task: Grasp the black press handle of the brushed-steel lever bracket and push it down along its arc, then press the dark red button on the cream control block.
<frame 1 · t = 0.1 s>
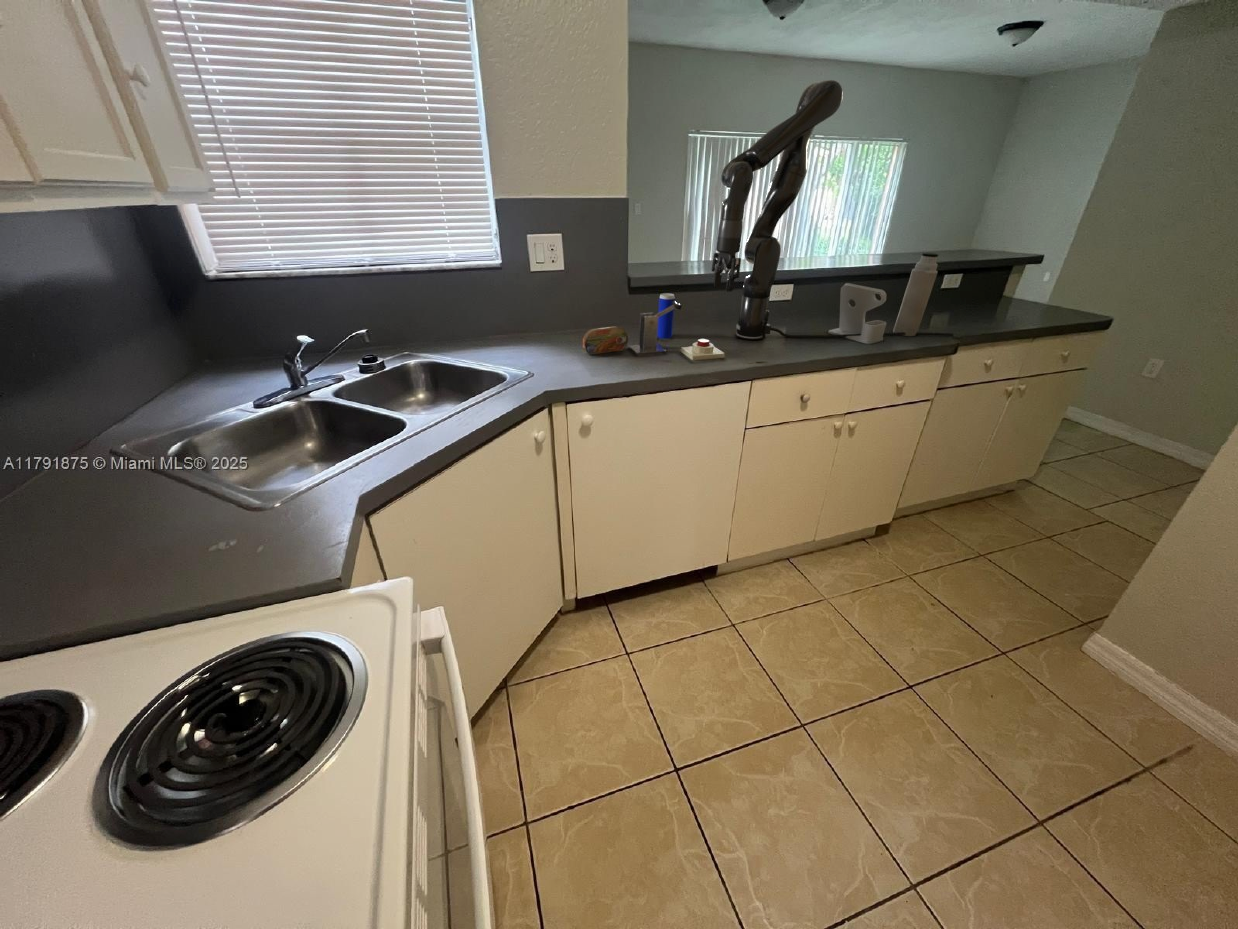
hand: (722, 288, 162), 17 cm above the worktop, tool pointing down, fingers open, 8 cm apart
tin: (605, 354, 155), on the worktop
phone holder: (855, 336, 178), on the worktop
thermos bottle: (904, 333, 183), on the worktop
start button: (703, 343, 152), point 4 cm above the worktop, slide at 0.1 cm
beverage can: (664, 339, 171), on the worktop
press bracket: (647, 351, 158), on the worktop
press lever: (661, 313, 153), point 12 cm above the worktop, hinge at 25.0°
button block: (701, 357, 154), on the worktop
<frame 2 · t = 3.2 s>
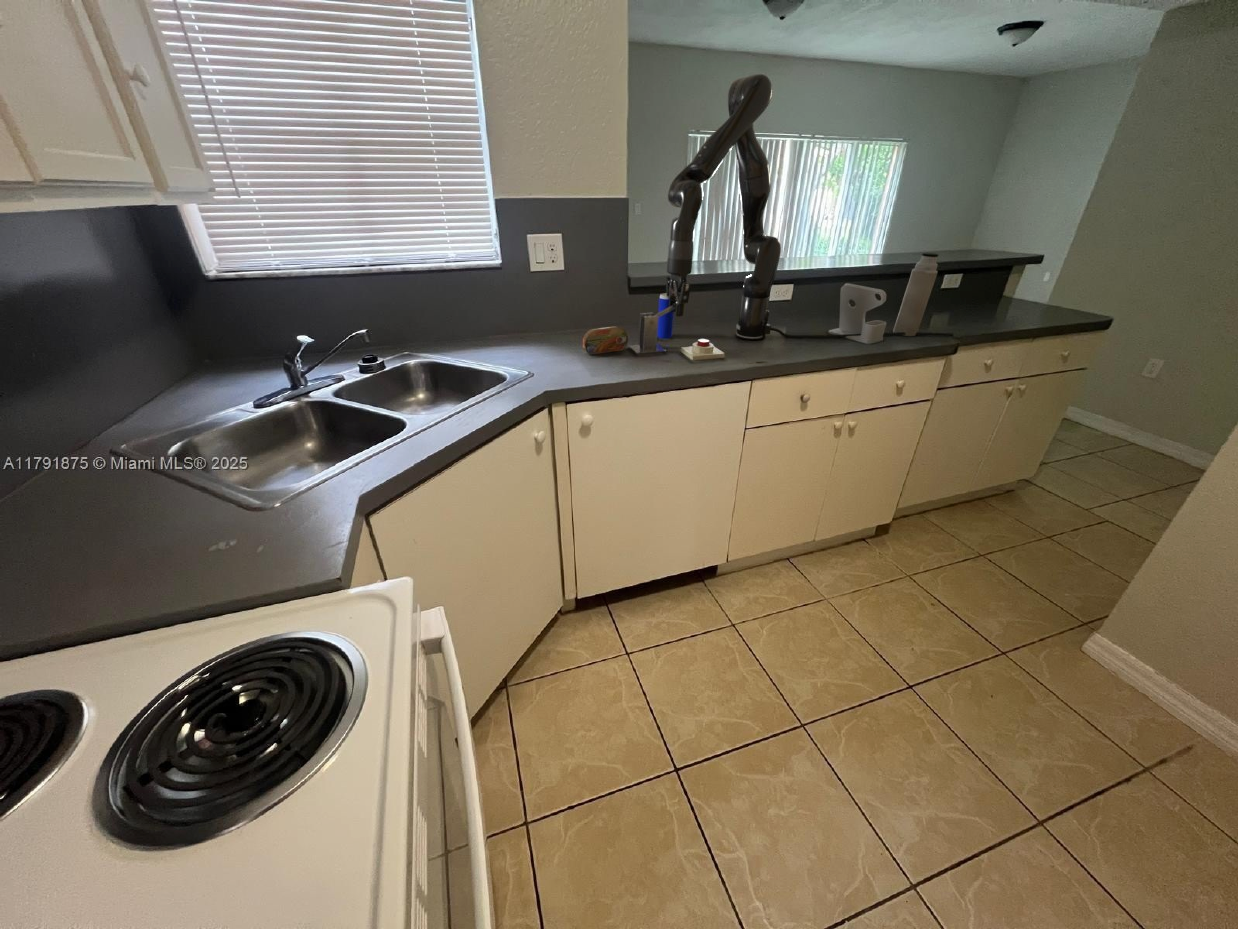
hand: (675, 313, 154), 12 cm above the worktop, tool pointing down, fingers closed on press lever, 5 cm apart
press lever: (661, 313, 153), point 12 cm above the worktop, hinge at 24.9°, touching gripper
everything else where it was.
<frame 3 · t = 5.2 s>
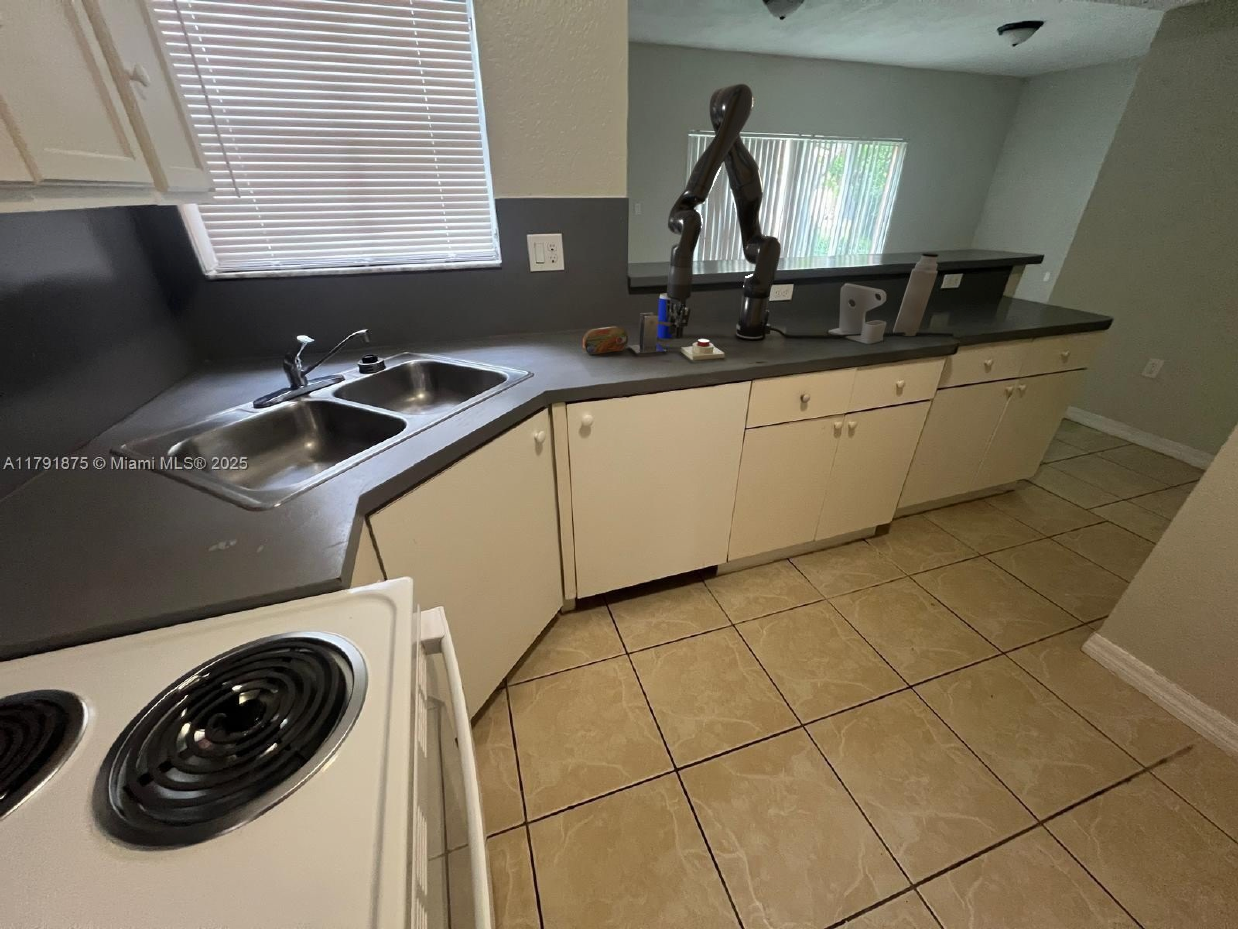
hand: (675, 335, 158), 5 cm above the worktop, tool pointing down, fingers closed on press lever, 5 cm apart
press lever: (662, 322, 154), point 9 cm above the worktop, hinge at -12.4°, touching gripper
everything else where it was.
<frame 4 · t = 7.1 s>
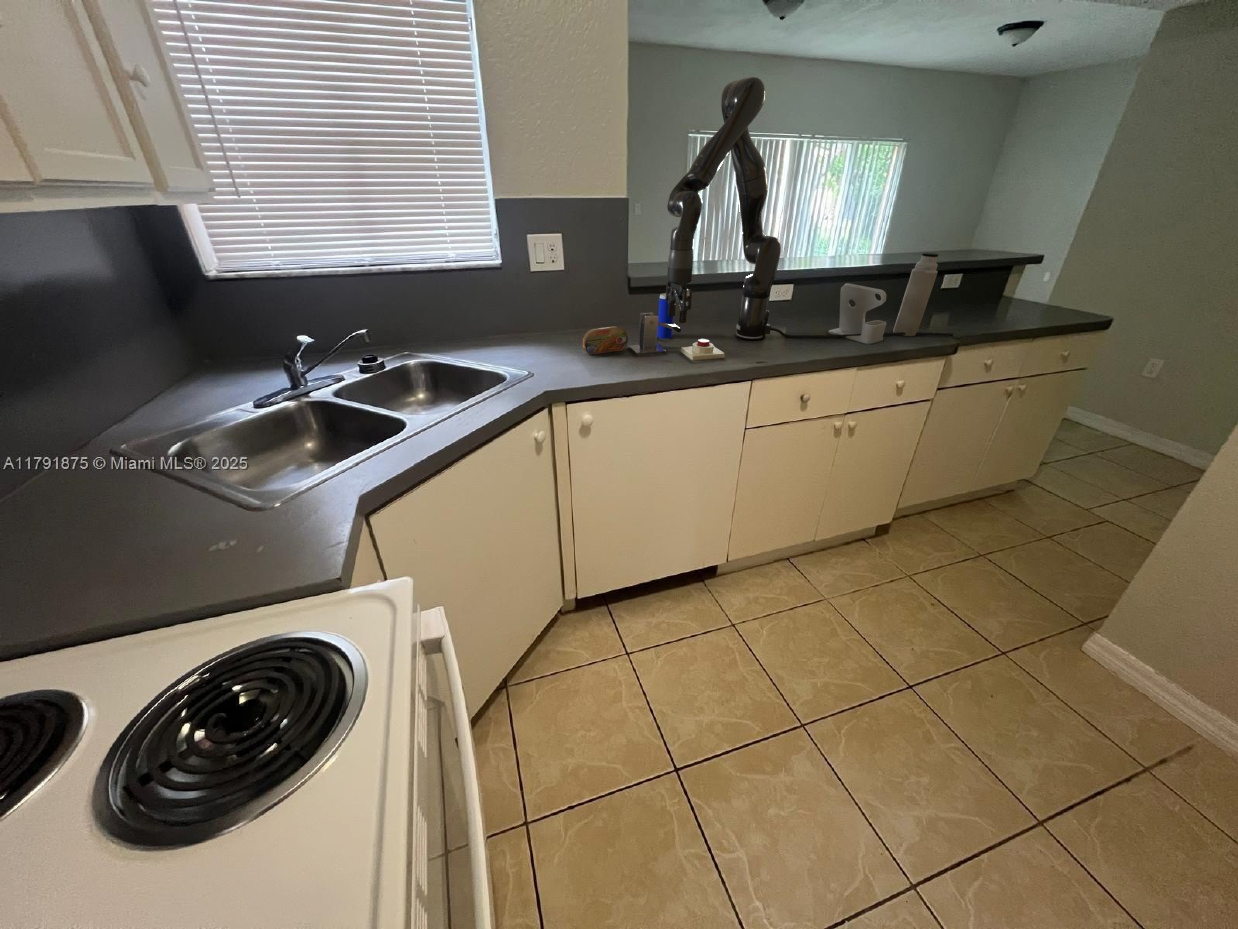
hand: (676, 319, 155), 10 cm above the worktop, tool pointing down, fingers open, 8 cm apart
press lever: (661, 324, 154), point 9 cm above the worktop, hinge at -17.3°
everything else where it was.
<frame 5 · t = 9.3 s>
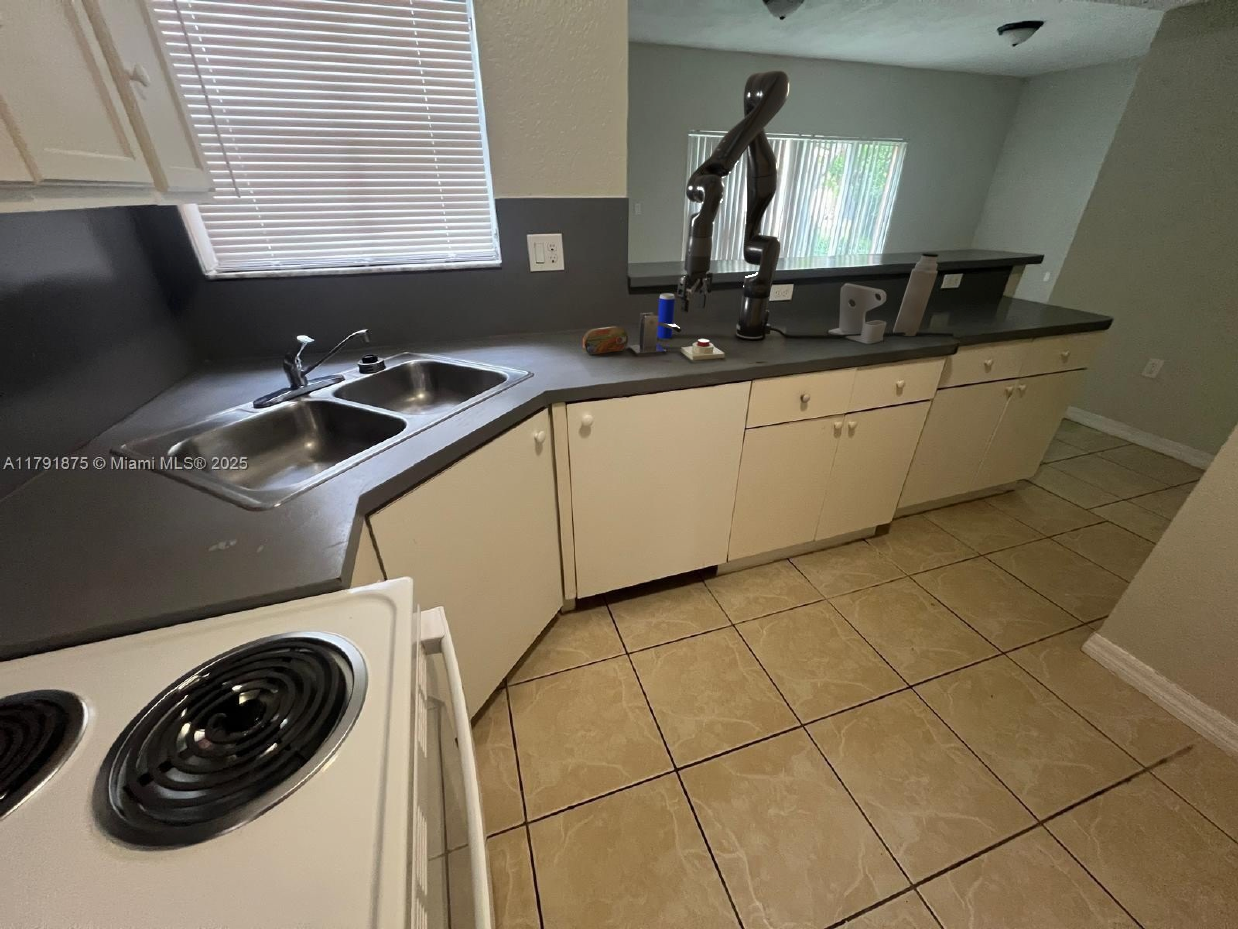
hand: (692, 310, 150), 14 cm above the worktop, tool pointing down, fingers open, 8 cm apart
nothing on the worktop moved.
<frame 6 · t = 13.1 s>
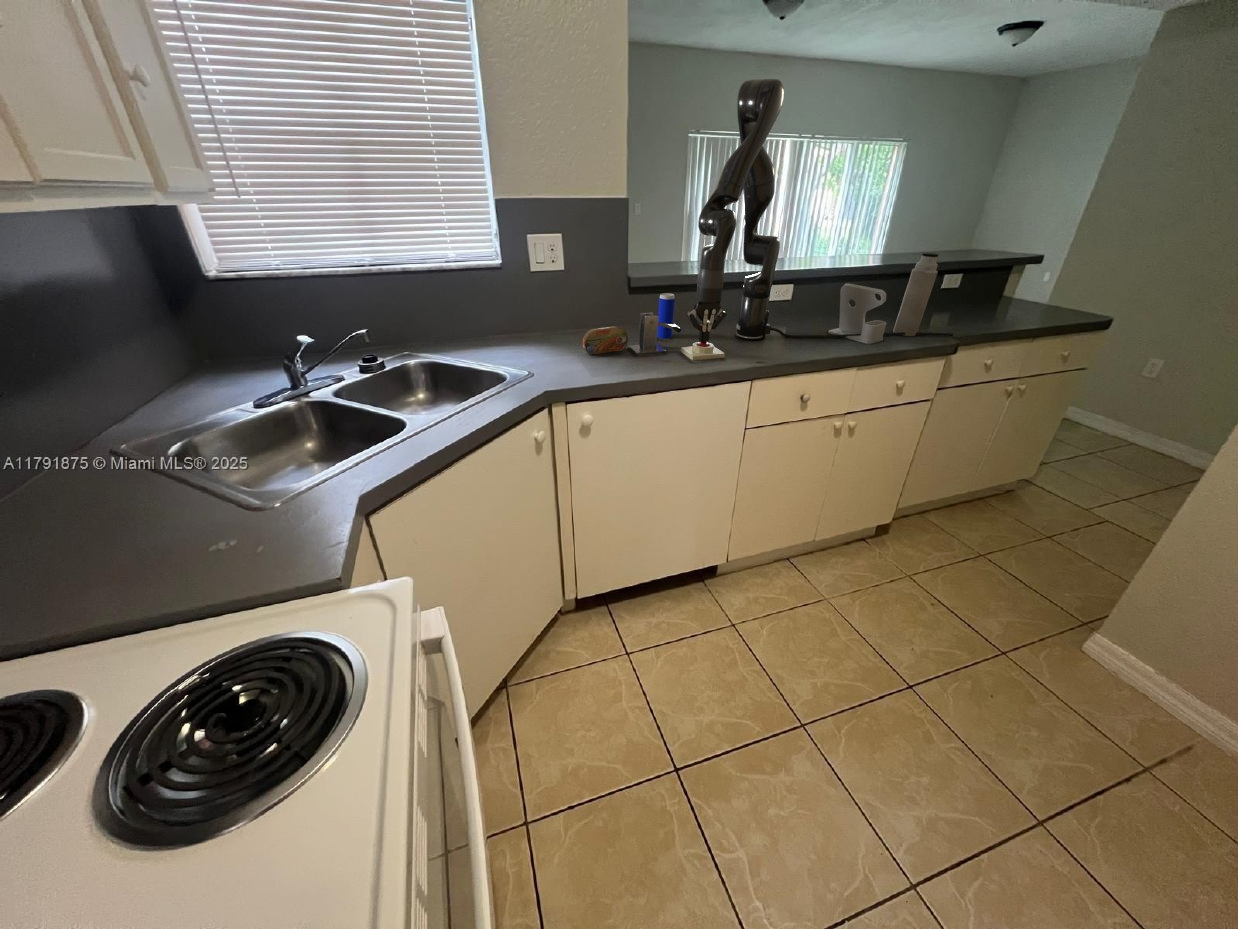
hand: (703, 342, 152), 5 cm above the worktop, tool pointing down, fingers closed
start button: (703, 345, 152), point 4 cm above the worktop, slide at -0.6 cm, touching gripper
everything else where it was.
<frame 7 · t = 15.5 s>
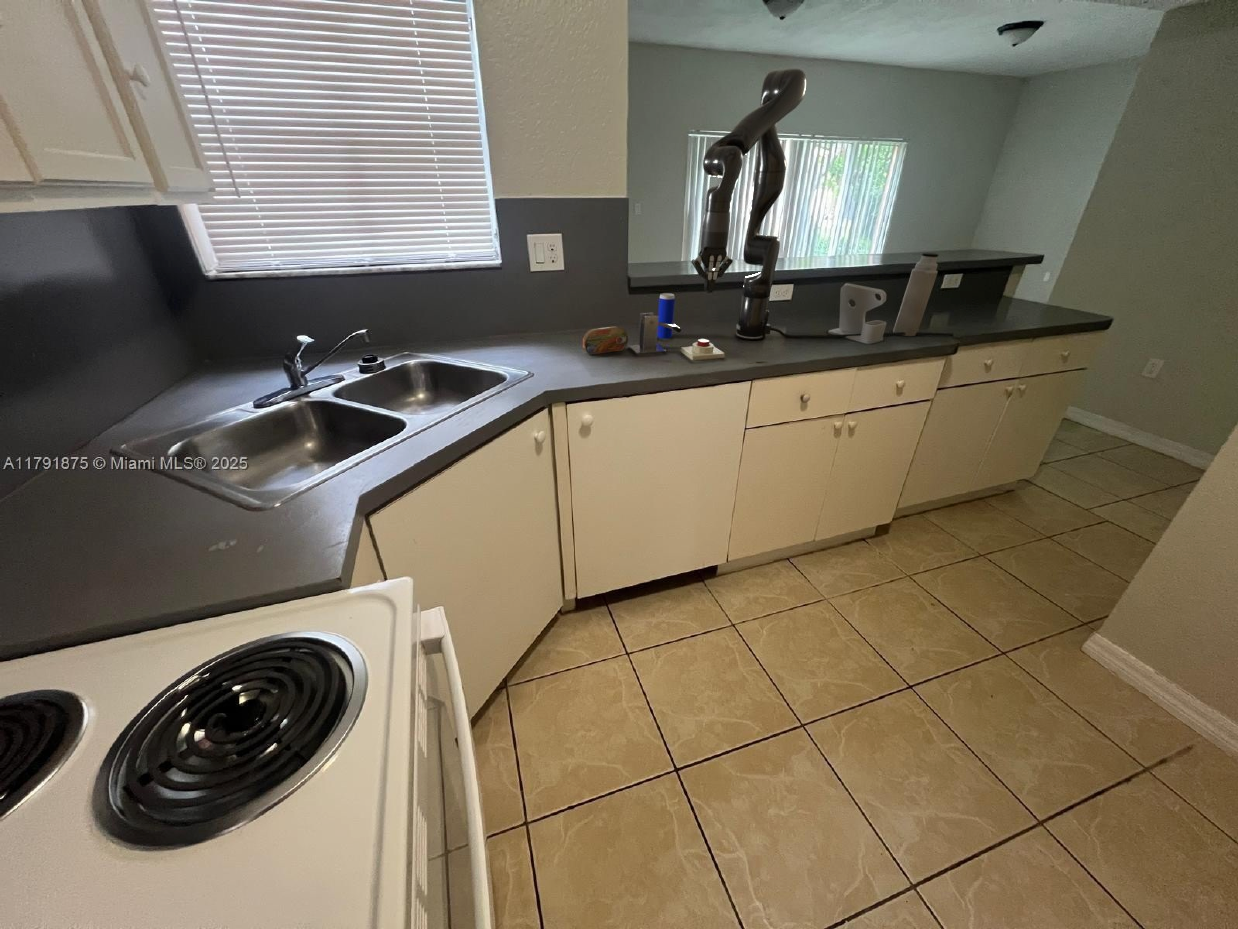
hand: (708, 292, 147), 19 cm above the worktop, tool pointing down, fingers closed
start button: (703, 343, 152), point 4 cm above the worktop, slide at 0.1 cm
everything else where it was.
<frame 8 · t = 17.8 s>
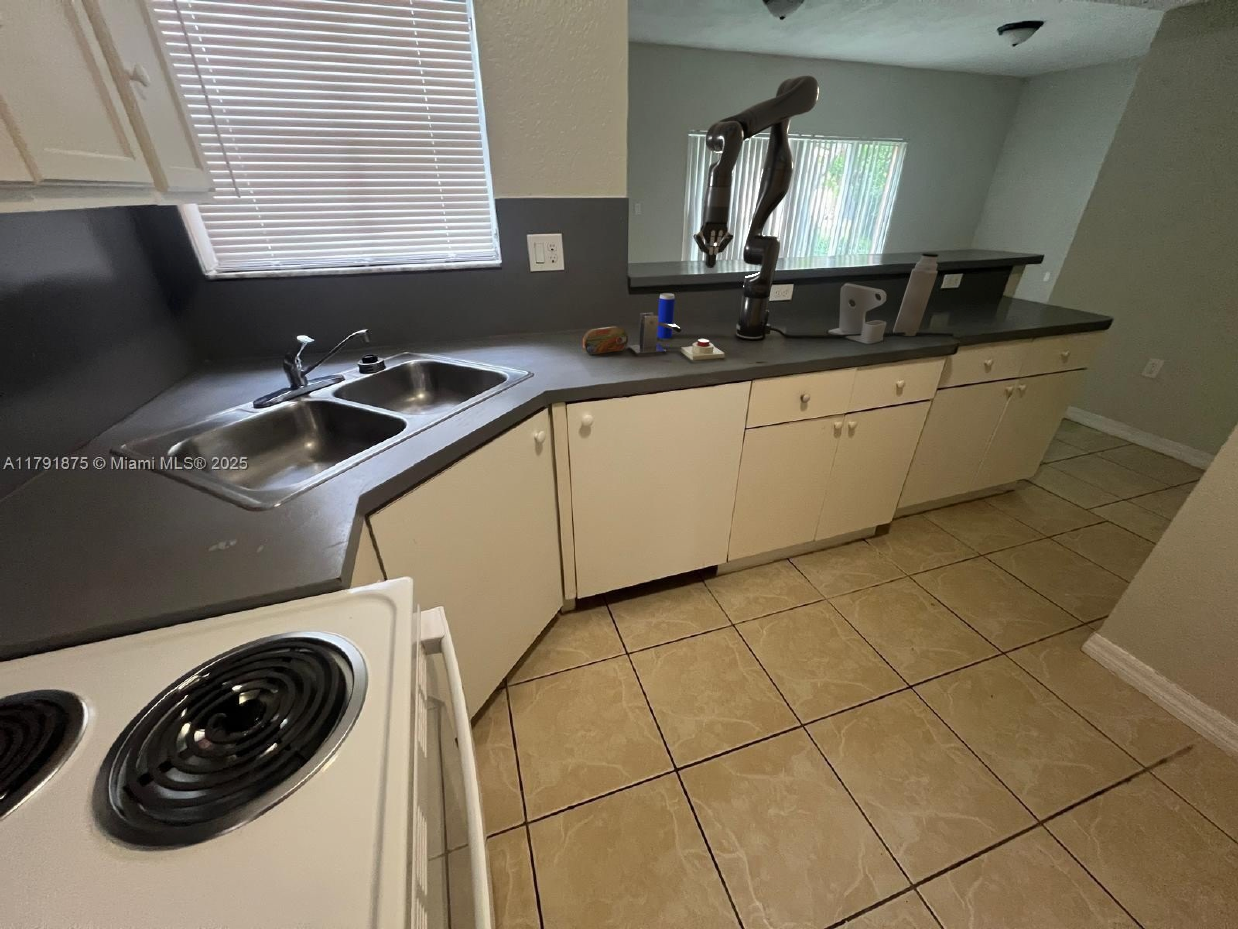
hand: (710, 267, 151), 25 cm above the worktop, tool pointing down, fingers closed
nothing on the worktop moved.
at the end: press lever at -17° (first picture: +25°); start button pushed in 1.1 cm at the most during the clip, back to where it started at the end; start button slide at 0.1 cm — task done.
